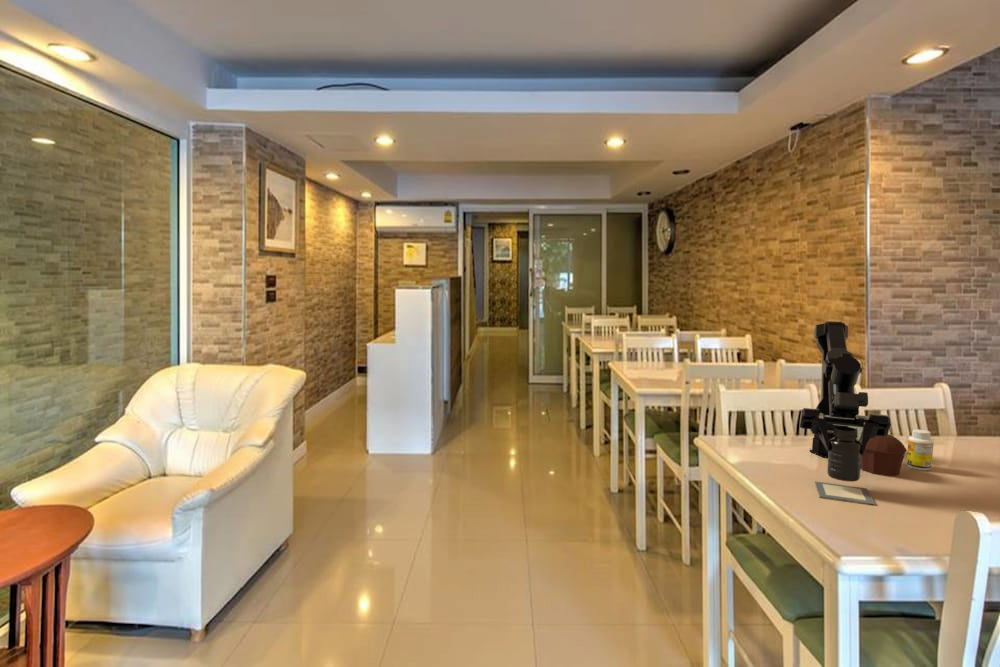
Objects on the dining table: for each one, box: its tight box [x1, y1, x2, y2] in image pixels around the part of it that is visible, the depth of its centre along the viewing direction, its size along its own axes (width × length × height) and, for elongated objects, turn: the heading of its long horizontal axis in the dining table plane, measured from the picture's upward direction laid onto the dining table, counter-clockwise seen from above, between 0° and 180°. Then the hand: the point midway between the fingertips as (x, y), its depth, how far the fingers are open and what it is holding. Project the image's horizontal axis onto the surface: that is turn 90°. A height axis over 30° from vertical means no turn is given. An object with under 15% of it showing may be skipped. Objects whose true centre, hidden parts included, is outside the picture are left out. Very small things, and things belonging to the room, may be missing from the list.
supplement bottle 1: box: [827, 426, 862, 483], centre depth 139 cm, size 7×7×12 cm
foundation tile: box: [814, 481, 876, 506], centre depth 137 cm, size 11×11×1 cm
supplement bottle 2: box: [906, 428, 935, 471], centre depth 157 cm, size 6×6×10 cm
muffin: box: [858, 433, 908, 477], centre depth 154 cm, size 12×11×10 cm
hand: (845, 452), depth 137 cm, fingers closed on supplement bottle 1, 7 cm apart
